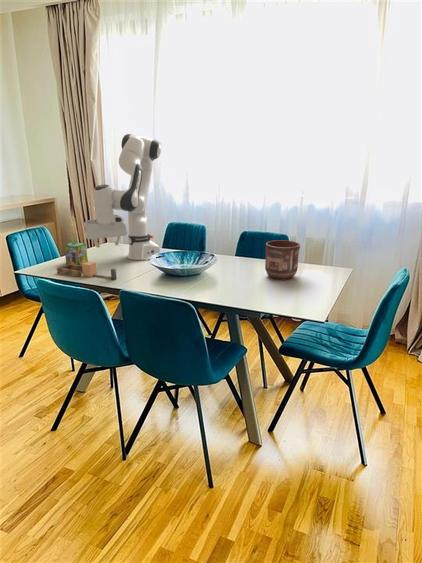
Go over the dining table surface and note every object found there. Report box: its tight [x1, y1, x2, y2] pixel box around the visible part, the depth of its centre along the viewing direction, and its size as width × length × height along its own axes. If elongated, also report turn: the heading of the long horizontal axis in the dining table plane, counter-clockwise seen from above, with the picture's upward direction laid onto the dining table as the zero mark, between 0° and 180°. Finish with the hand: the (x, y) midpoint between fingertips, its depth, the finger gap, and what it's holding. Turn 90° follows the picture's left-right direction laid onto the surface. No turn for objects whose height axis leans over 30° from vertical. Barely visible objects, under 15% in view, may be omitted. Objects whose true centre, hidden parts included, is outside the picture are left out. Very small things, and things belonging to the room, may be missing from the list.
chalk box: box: [63, 237, 89, 266], centre depth 240 cm, size 9×9×15 cm
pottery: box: [264, 239, 301, 280], centre depth 218 cm, size 18×18×18 cm
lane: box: [56, 264, 83, 278], centre depth 224 cm, size 15×9×3 cm, turn 66°
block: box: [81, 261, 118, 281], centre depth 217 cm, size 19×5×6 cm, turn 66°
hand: (107, 246), depth 210 cm, fingers open, 8 cm apart
